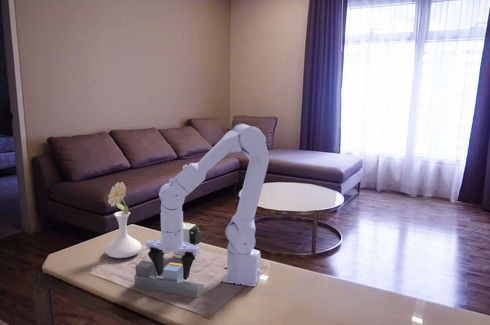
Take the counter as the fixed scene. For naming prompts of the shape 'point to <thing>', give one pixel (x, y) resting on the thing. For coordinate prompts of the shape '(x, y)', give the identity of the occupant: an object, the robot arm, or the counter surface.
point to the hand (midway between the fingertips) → (173, 275)
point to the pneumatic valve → (190, 236)
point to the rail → (163, 281)
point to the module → (173, 272)
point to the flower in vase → (121, 227)
